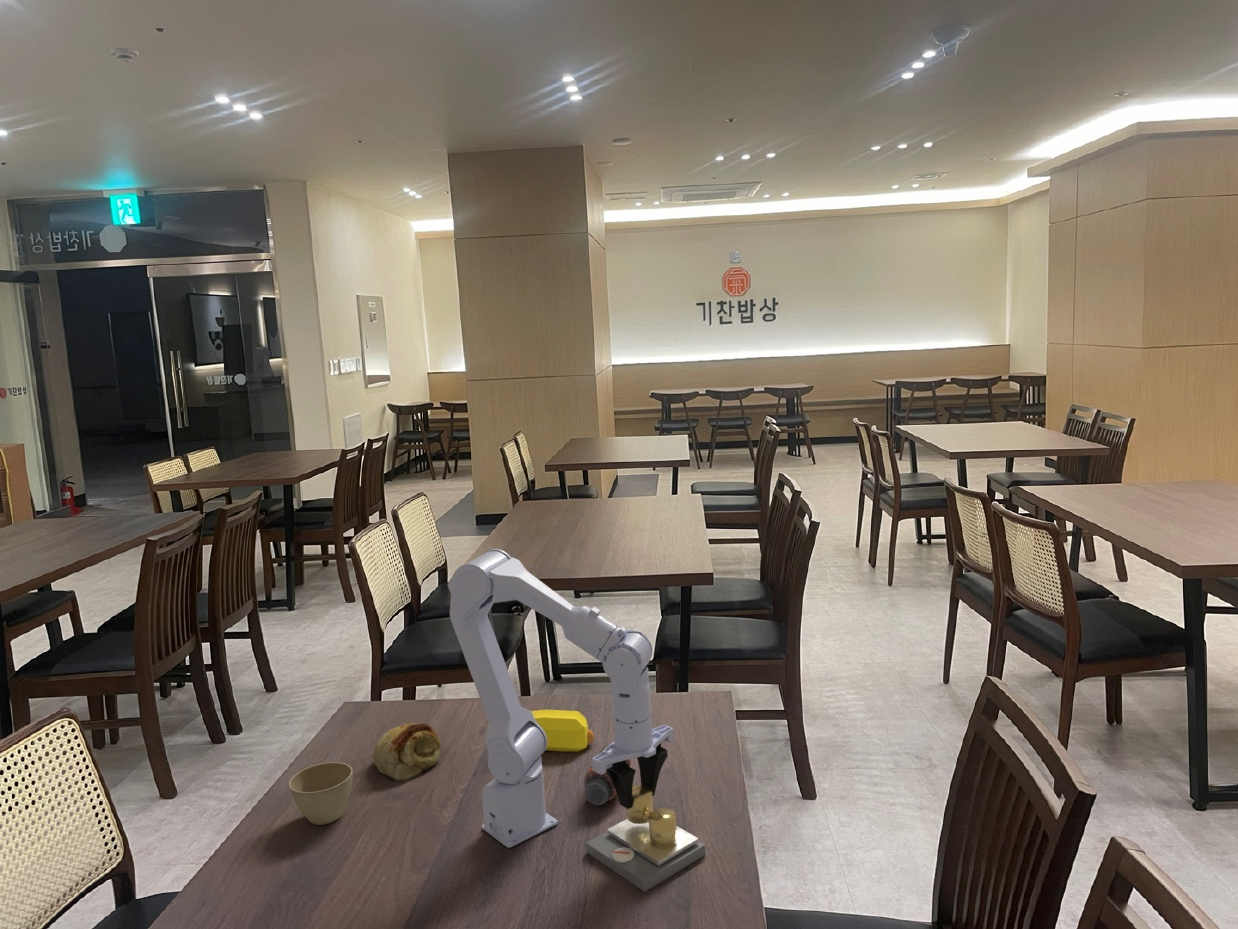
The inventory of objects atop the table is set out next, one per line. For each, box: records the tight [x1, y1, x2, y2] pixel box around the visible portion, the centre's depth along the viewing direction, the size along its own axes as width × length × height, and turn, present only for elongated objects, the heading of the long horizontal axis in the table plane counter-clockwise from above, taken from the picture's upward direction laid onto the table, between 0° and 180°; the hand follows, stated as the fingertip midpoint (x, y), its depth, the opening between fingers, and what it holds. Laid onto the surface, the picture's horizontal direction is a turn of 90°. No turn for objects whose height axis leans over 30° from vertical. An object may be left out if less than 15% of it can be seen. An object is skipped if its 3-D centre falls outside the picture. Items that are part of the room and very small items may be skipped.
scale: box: [585, 831, 706, 893], centre depth 129 cm, size 12×13×2 cm
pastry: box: [372, 722, 442, 781], centre depth 161 cm, size 14×12×8 cm
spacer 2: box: [648, 807, 677, 849], centre depth 127 cm, size 4×4×4 cm
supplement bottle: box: [583, 745, 632, 806], centre depth 146 cm, size 6×6×11 cm
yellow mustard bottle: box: [530, 709, 595, 753], centre depth 164 cm, size 18×7×8 cm
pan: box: [606, 818, 700, 866], centre depth 130 cm, size 8×11×1 cm
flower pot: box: [288, 761, 354, 826], centre depth 144 cm, size 10×10×7 cm
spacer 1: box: [625, 784, 654, 824], centre depth 131 cm, size 4×4×4 cm
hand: (637, 800), depth 131 cm, fingers closed on spacer 1, 4 cm apart
